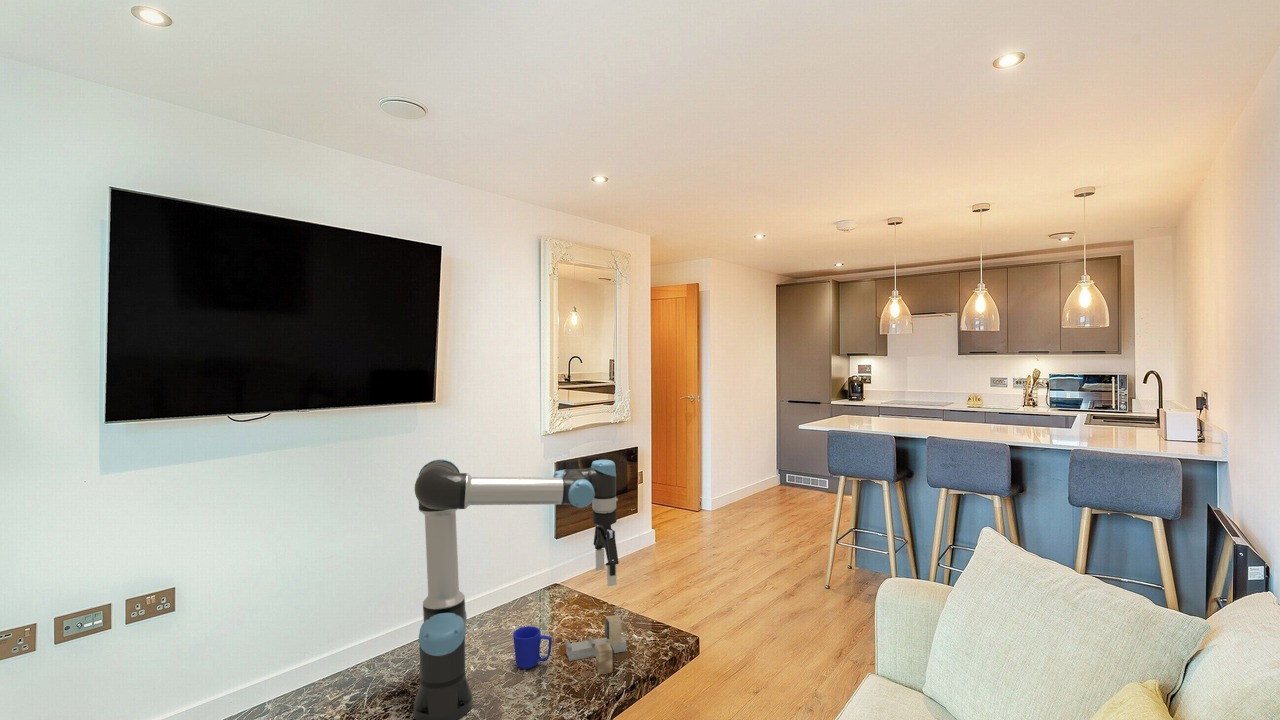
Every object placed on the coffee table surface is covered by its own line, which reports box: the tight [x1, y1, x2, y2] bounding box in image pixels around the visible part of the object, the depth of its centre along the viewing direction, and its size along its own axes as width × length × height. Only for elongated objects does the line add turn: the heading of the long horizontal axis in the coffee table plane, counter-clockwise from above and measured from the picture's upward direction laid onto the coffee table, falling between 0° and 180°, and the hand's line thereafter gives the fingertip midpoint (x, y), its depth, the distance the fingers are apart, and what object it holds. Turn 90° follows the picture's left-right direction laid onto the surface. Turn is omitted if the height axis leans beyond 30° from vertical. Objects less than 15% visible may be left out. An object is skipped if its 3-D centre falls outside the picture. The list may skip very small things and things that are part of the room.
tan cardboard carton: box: [595, 643, 615, 675], centre depth 176 cm, size 5×4×7 cm
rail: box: [564, 614, 627, 662], centre depth 187 cm, size 19×5×10 cm, turn 108°
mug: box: [512, 625, 553, 670], centre depth 179 cm, size 8×12×10 cm
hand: (605, 577), depth 184 cm, fingers open, 13 cm apart
